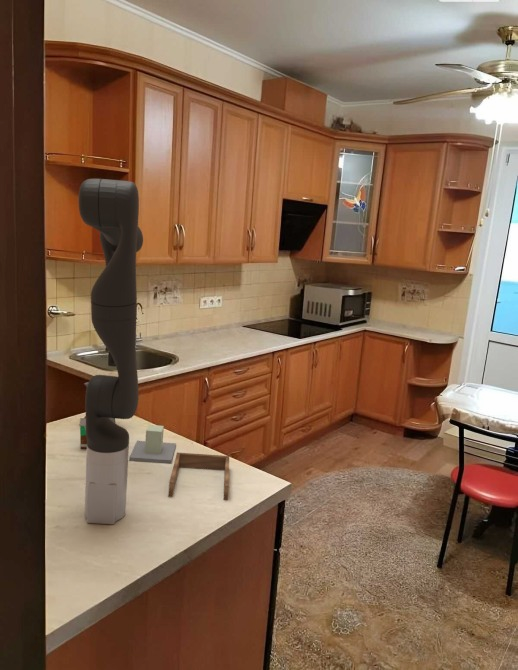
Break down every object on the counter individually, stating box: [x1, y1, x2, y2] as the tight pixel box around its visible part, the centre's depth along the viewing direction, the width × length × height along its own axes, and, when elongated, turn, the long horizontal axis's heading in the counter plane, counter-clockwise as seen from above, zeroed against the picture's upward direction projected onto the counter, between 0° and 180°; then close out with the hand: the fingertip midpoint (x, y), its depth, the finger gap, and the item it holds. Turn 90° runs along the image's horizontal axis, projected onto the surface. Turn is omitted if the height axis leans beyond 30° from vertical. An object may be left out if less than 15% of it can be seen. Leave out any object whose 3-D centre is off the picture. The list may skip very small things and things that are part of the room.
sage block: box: [144, 424, 165, 454], centre depth 153 cm, size 4×4×7 cm
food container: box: [79, 415, 87, 450], centre depth 156 cm, size 12×6×10 cm, turn 179°
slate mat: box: [128, 440, 177, 464], centre depth 154 cm, size 12×12×1 cm
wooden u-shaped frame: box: [167, 451, 230, 501], centre depth 139 cm, size 18×15×4 cm
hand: (116, 361), depth 138 cm, fingers open, 8 cm apart
